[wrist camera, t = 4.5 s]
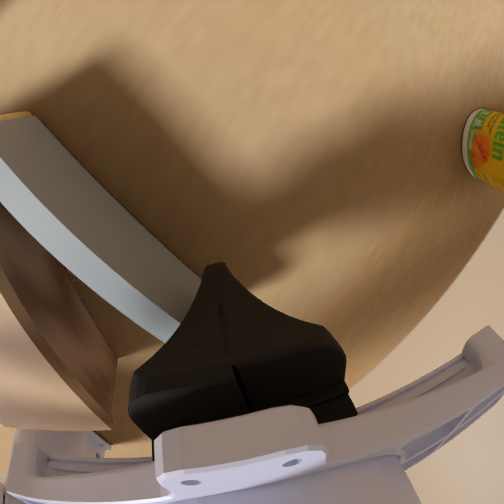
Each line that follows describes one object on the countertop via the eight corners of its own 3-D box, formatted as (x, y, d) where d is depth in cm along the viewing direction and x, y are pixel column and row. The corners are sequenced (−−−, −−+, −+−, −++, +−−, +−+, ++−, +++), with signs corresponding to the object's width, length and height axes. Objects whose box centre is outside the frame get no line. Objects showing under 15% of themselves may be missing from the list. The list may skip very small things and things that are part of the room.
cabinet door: (13, 125, 9) (-48, 141, 5) (26, 105, 9) (-34, 113, 5) (209, 312, 16) (220, 377, 12) (225, 300, 16) (240, 364, 12)
